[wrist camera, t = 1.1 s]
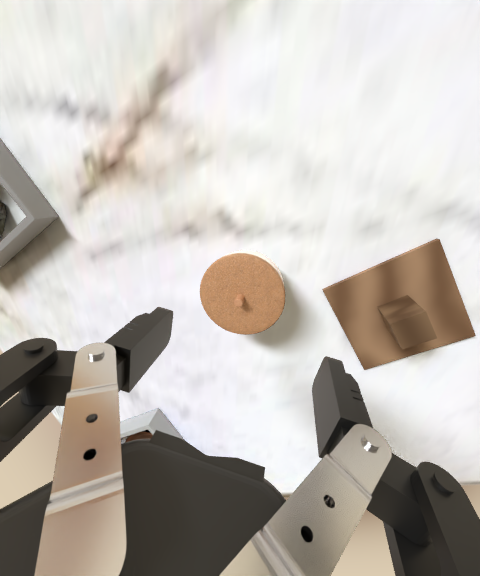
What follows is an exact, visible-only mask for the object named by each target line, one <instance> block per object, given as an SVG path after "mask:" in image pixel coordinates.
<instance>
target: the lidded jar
mask: <svg viewBox="0 0 480 576" xmlns="http://www.w3.org/2000/svg"><path fill="white" fill-rule="evenodd" d="M200 298H201V302H202V305H203V307H204V310H205V311H206V313H207V315H208V316H209V317H210V318H211V320H213V321H214V322H215V323H216V324H217V325H218V326H220V327H221V328H223V329H225V330H227V331H230V332H233V333H237V334H255V333H259V332H261V331H264V330H266V329H268V328H269V327H271V326H272V325H273V324H274V323H275V322H276V321H277V320H278V318H279V317H280V315H281V314H282V311H283V309H284V304H285V288H284V281H283V278H282V275H281V273H280V270H279V269H278V267H277V266H276V264H275V263H274V262H273V261H272V260H271V259H270V258H268V257H267V256H266V255H264V254H262V253H259V252H257V251H252V250H238V251H234V252H231V253H229V254H227V255H225V256H223V257H222V258H220V259H218V260H217V261H215V262H214V263H213V264H212V265H211V266H210V267H209V268H208V269H207V271H206V272H205V274H204V276H203V278H202V281H201V285H200Z"/></svg>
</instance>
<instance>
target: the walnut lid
mask: <svg viewBox="0 0 480 576" xmlns="http://www.w3.org/2000/svg"><path fill="white" fill-rule="evenodd" d="M323 292H324V294H325V296H326V297H327V299H328V301H329V303H330V305H331V307H332V309H333V311H334V313H335V315H336V317H337V318H338V320H339V322H340V324H341V326H342V328H343V330H344V332H345V334H346V336H347V338H348V340H349V341H350V343H351V345H352V347H353V349H354V351H355V353H356V355H357V357H358V359H359V361H360V362H361V364H362V366H363V368H364V370H365V369H368V368H372V367H375V366H378V365H382V364H385V363H388V362H391V361H395V360H398V359H401V358H405V357H408V356H411V355H414V354H418V353H421V352H424V351H427V350H431V349H434V348H437V347H441V346H444V345H447V344H450V343H454V342H457V341H460V340H464V339H467V338H470V337H473V336H476V335H475V333H474V330H473V327H472V325H471V322H470V319H469V317H468V314H467V311H466V309H465V306H464V303H463V301H462V298H461V295H460V293H459V290H458V287H457V285H456V282H455V279H454V277H453V274H452V271H451V269H450V266H449V263H448V261H447V258H446V255H445V253H444V250H443V247H442V245H441V242H440V239H435V240H432V241H430V242H428V243H426V244H423V245H421V246H419V247H417V248H414V249H412V250H410V251H408V252H405V253H403V254H401V255H399V256H396V257H394V258H392V259H390V260H387V261H385V262H383V263H380V264H378V265H376V266H374V267H371V268H369V269H367V270H365V271H362V272H360V273H358V274H356V275H353V276H351V277H349V278H347V279H344V280H342V281H340V282H338V283H335V284H333V285H331V286H328V287H326V288H324V289H323Z"/></svg>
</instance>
